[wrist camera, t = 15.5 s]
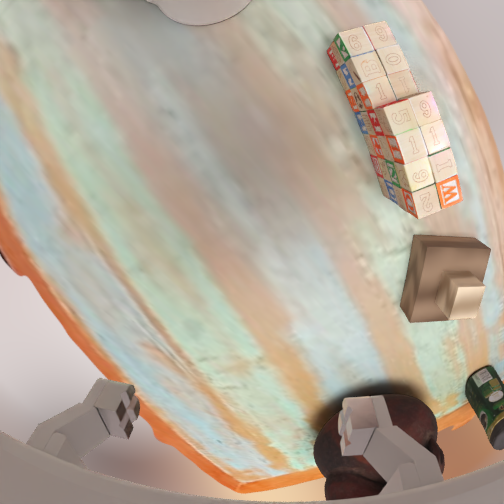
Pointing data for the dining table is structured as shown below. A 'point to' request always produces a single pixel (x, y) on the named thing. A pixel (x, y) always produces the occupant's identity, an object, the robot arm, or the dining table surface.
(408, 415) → the jug
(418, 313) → the walnut block
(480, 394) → the coffee jar
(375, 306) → the dining table surface
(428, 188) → the stack of blocks
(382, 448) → the robot arm
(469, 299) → the beige wooden cube
